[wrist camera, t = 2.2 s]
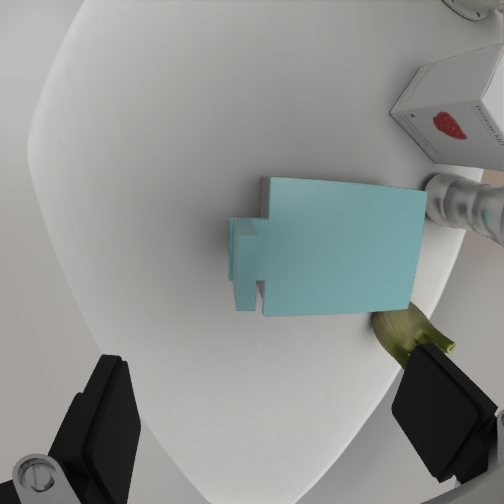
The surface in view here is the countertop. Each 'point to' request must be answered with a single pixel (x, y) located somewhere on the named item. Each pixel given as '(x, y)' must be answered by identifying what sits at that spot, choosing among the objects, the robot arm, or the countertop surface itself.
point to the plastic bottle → (466, 205)
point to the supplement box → (458, 109)
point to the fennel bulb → (407, 332)
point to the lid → (328, 248)
